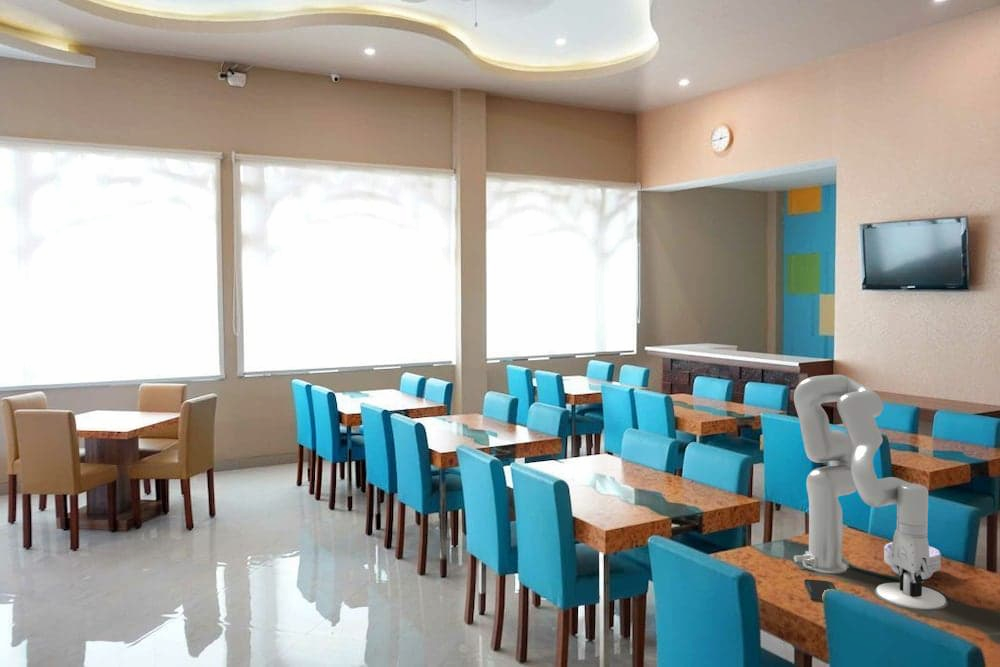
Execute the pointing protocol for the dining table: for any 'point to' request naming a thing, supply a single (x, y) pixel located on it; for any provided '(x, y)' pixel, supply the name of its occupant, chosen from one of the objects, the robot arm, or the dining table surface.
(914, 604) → the lid
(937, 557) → the paper bowls
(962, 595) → the dining table surface
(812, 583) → the phone
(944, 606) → the mat
